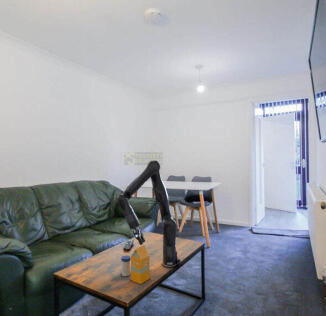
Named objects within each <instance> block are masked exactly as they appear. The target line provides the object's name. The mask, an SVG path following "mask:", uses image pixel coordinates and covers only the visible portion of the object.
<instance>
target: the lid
mask: <svg viewBox="0 0 326 316" xmlns="http://www.w3.org/2000/svg"><path fill="white" fill-rule="evenodd" d="M120 260H121V262H122V261H123V262H129V261H130V262H131V256H130V255H122V256H121V258H120Z"/></svg>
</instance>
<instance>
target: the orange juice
mask: <svg viewBox="0 0 326 316" xmlns="http://www.w3.org/2000/svg"><path fill="white" fill-rule="evenodd" d="M130 258H131V260H130V280H131V281H132V282H134V283H137V284H140V285H142V284H143V283H145V282H146V281H148V280H150V254H149V252H148V250H147V247H146V245H145V244H144V245H140V246H139V247H137V248H135V249H134V251H133V253H132V255H131V256H130Z"/></svg>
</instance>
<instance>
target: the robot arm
mask: <svg viewBox="0 0 326 316" xmlns="http://www.w3.org/2000/svg"><path fill="white" fill-rule="evenodd" d="M160 170H161V164H160V162H159V161H158V160H155V159H152V160H149V161H148V162H147V164H146V166H145V169H144V170H143V171H142V172H141V173H140V174H139V175H138V176H137V177H135V178H134V179H133V180H132V181H131V182H130V184H128V185H127V187H125V190H124V191H123V192H121V193H119V194H117V196H116V202H117V204H118V206H119V208H120V209H121V211H122V214H123V216H124V218H125V221H126V223H127V225H128V227H129V229H130V230H132V233H133V235H134V239H136V240H137V242H138V244H139V246H143V244H144V243H145V242H146V239H145V237H144V233H143V230H142V228H141V223H140V220H139V219H138V216H137V214H136V213H135V211H134V209H133V206H132V205H131V204H130V202H129V201H130V200H131V198H132V197H133V196H134V195H135V194H136V193H137V192H138V191H139V190H140V189H141V188H142V186H144V185H145V183H146V182H147V181H148V180H150V181H151V185H152V191H153V195H154V199H155V202H156V205H157V207H158V210H159V214H160V220H161V225H162V227H163V228H162V229H163V230H162V232H163V234H162V266H163V267H166V268H175V267H176V266H178V265H179V264H181V259H180V258H179V257H178V251H177V229H178V228H177V226H178V225H177V222H176V220H175V219H174V217H173V215H172V212H171V209H170V200H169V195H168V190H167V188H166V186H165V183H164V181H163V180H162V176H161V171H160Z"/></svg>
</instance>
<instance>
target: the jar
mask: <svg viewBox="0 0 326 316" xmlns="http://www.w3.org/2000/svg"><path fill="white" fill-rule="evenodd" d="M121 275H122V276H123V277H129V276H131V260H130V261H129V262H123V261H121Z"/></svg>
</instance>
